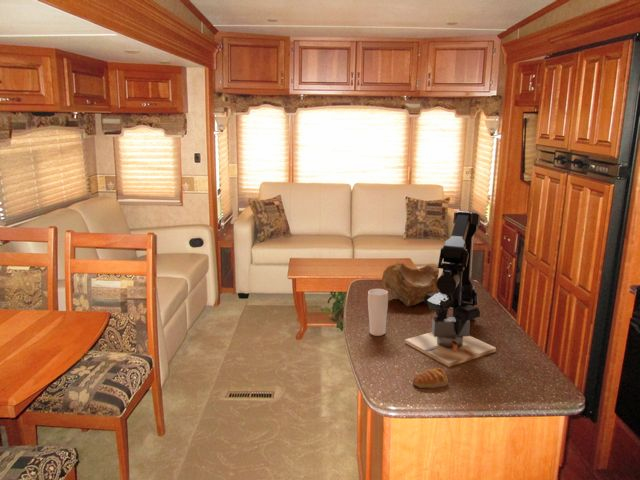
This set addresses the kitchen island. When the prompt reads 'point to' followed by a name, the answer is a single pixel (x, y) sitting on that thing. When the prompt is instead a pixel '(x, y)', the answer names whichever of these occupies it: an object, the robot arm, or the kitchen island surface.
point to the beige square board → (450, 349)
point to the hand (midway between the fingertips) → (449, 330)
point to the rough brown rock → (410, 282)
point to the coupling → (449, 332)
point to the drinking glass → (377, 311)
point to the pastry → (431, 378)
